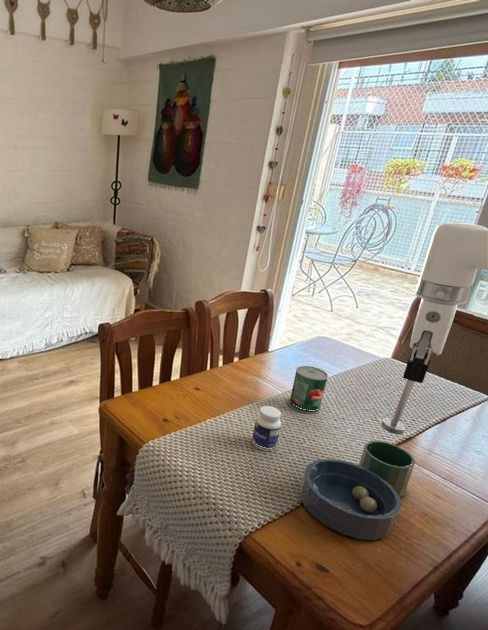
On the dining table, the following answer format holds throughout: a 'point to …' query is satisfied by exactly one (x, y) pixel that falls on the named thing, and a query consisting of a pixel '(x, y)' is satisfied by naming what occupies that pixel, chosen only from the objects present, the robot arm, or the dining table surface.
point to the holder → (388, 463)
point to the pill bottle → (267, 428)
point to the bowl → (349, 499)
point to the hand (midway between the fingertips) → (413, 377)
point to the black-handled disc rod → (399, 411)
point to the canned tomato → (308, 389)
